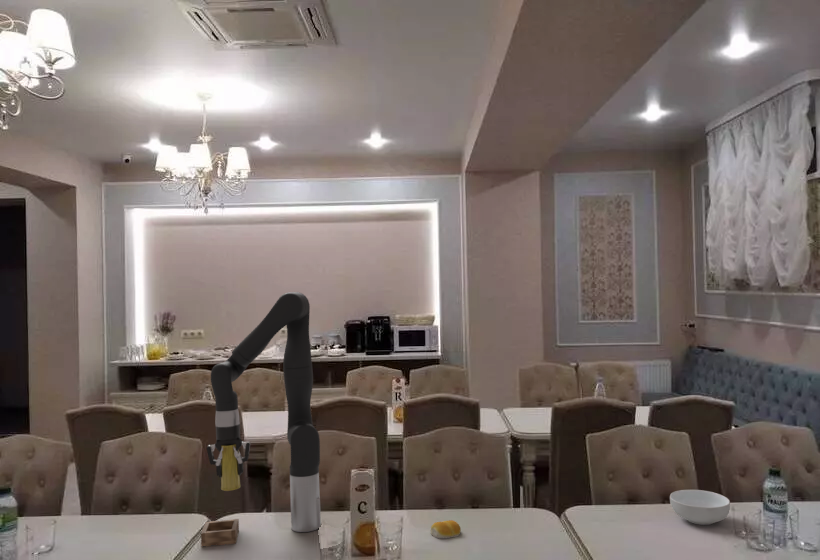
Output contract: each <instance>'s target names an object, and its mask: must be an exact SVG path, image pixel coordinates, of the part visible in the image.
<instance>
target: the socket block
mask: <svg viewBox="0 0 820 560" xmlns="http://www.w3.org/2000/svg"><path fill="white" fill-rule="evenodd" d="M239 522H240V519H239V518H234V519H233V518H232V519H224V520H221V519H220V520H212V521H205V523H204V525H203V527H202V530H201V532H200V541H201V542H200V545H201V546H200V547H201V548H203V547H202V546H206V547H212V546H211V545H216V546H223V545H225V544H226V545H233V544H234V545H235V544H237V540H238V538H239V537H238V536H239V533H240V523H239ZM226 545H225V546H226Z"/></svg>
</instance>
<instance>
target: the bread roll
mask: <svg viewBox="0 0 820 560" xmlns="http://www.w3.org/2000/svg"><path fill="white" fill-rule="evenodd" d="M461 530H462V529H461V526H460V524H459V523H458V522H457V521H455V520H452V519H451V520H450V519H449V520H443V521H436V522H434V523H433V524H432V525H431V527H430V534H431V535H432V537H434V538H437V539H449V538H452V537H453V538H454V537H458V536H459V535H460V533H461Z"/></svg>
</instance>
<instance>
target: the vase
mask: <svg viewBox="0 0 820 560" xmlns="http://www.w3.org/2000/svg"><path fill="white" fill-rule="evenodd" d="M234 447H235V448H236V444H234V445H230V446H223V451H222V459H221V477H220V480H221V481H220V483H221V486H220V489H221V490H222V491H225V492H229V491H234V490H235V491H236V490H238V489H240V488H241V479H240V475H239V472H238V463H239V462H238V460H237V458H236V457H235V454H234V452H235V451H234ZM221 449H222V445H221Z"/></svg>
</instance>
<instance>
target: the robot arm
mask: <svg viewBox="0 0 820 560" xmlns="http://www.w3.org/2000/svg"><path fill="white" fill-rule="evenodd" d="M310 307H311V306H310V302H309V299H308V298H307V296H306V295H305V294H304V293H302V292H299V291H289V292H286V293H283V294H282V295H280V296H279V298H278V299H277V300H276V302H275V303H274V305H273V306H272V307H271V308H270V310H269V311H268V313H267V314H266V315H265V317H264V318H263V319H262V321H260V323H259V324H258V325H256V327H255V328H254V329H253V330H252V331H250V333H249V334H248V335H246V337H245V338H244V339H243V340H241V342H240V343H239V344H238V345H237V346H236V347H235V348H234V349H233V351H232V352H231V355H230V356H229V357H228V358H227V359H226V360H225V361H224V362H220V363H216V364H215V365H214V366H213V367H212V368H211V371H210V384H211V388H212V391H213V394H214V397H215V398H214V399H215V418H214V420H215V422H214V423H215V437H216V438H215V439H216V441H215V443H214V444H208V445H206V452H207V456H208V460H209V464H210V465H215V469H216V476H218V478H221V459H222V451H223V446H230V445H234V444H236V448H235V447H234V451H235V452H234V454H235V457H236V458H237V460H238V472H239V476H241V475H242V474H243V473H244V463H245V462H248V461H249V457H250V448H251V441H250V440H249V441H248V440H247V441H243V440H242V438H241V424H240V412H239V402H238V401H239V399H238V398H239V397H238V393H237V392H236V391H234V389H233V382H235V381H237V380H238V379H239V378H240V377H241V376H242V374H243V373H244V371H245V370H246V369H247V368H248V366H249V365H250V364H251V363H253V362H254V361H255V360H256V358H258V357H259V356H260V355H261V353H262V352H264V351H265V349H266V347H268V345H269V344H270V342H271V340H272V339H273V338H274V337H275V336H276V335H277V333H279V332H280V330H282V329H283V328H284V327H286V334H287V336H286V345H285V349H284V354H283V367H282V369H283V380H284V388H285V389H284V390H285V396H286V402H287V434H286V435H287V436H286V438H287V441H288V443H289V445H290V464H289V490H290V491H289V494H290V497H289V498H290V523H291V527H290V528H291V530H292V531H293V532H296V533H307V532H313V531H316V530H319V529H318V528H319V527H320V525H321V526H322V524H321V523H322V522H321V521H322V520H321V517H322V515H321V497H320V477H319V476H320V473H319V472H320V471H319V470H320V464H321V463H320V462H321V445H320V444H321V443H320V442H321V440H320V434H319V431H318V429H317V428H316V427H315V426H314V423H313V419H312V410H311V398H312V392H313V385H314V372H313V370H314V369H313V362H312V361H313V360H312V349H311V339H310V312H311V311H310V309H311V308H310ZM221 445H222V449H221ZM241 446H242V447H243V450H244V456H242V455H241V452H240V449H241ZM215 449H216V450H217V451H218V452H219V454H218V457H217V459H215V455H214V451H215Z"/></svg>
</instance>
